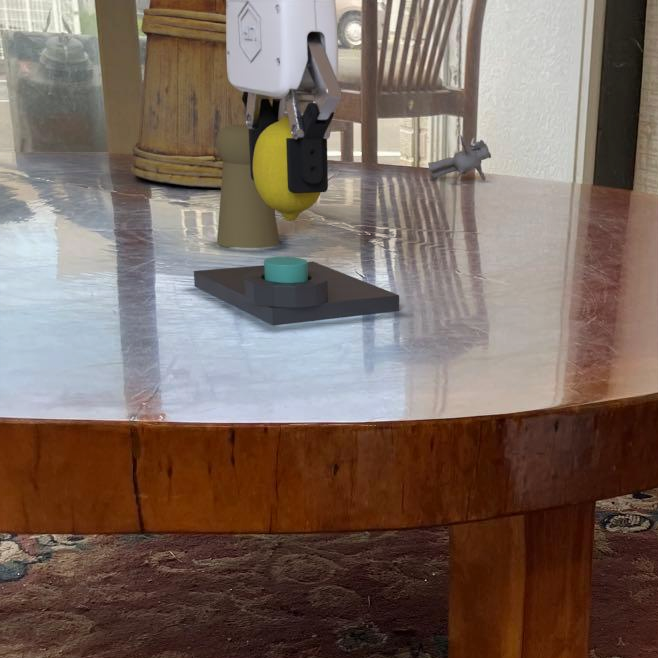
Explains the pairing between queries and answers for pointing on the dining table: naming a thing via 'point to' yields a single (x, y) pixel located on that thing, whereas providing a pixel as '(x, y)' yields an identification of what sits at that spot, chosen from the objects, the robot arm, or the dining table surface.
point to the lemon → (278, 172)
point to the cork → (242, 196)
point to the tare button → (286, 269)
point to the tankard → (185, 93)
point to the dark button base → (296, 294)
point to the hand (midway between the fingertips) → (288, 184)
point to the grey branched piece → (462, 160)
